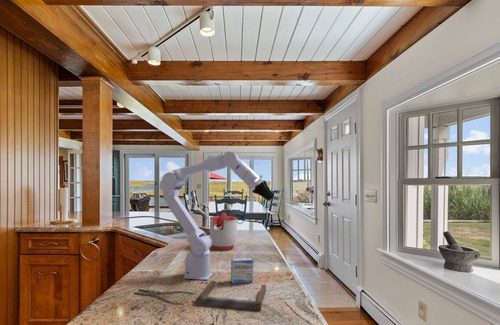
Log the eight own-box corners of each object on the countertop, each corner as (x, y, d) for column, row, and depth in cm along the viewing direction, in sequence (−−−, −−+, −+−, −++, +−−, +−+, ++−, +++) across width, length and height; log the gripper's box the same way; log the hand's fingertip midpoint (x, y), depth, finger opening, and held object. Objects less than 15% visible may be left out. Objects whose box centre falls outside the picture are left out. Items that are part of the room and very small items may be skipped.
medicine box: (232, 284, 109) (233, 260, 110) (230, 280, 114) (231, 257, 114) (253, 283, 112) (253, 259, 112) (249, 279, 116) (250, 256, 116)
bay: (196, 304, 91) (196, 297, 92) (211, 286, 107) (211, 280, 107) (260, 310, 88) (260, 303, 88) (265, 290, 104) (265, 284, 104)
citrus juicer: (202, 250, 158) (203, 213, 159) (215, 244, 175) (216, 210, 176) (229, 253, 153) (230, 215, 154) (240, 246, 170) (241, 211, 171)
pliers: (188, 303, 91) (124, 300, 92) (188, 306, 91) (124, 303, 92) (195, 291, 101) (137, 288, 102) (195, 293, 101) (137, 291, 102)
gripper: (250, 166, 109) (277, 191, 107) (255, 167, 124) (279, 190, 122) (238, 180, 110) (264, 205, 108) (244, 180, 124) (268, 202, 122)
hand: (271, 198), depth 115 cm, fingers open, 7 cm apart
